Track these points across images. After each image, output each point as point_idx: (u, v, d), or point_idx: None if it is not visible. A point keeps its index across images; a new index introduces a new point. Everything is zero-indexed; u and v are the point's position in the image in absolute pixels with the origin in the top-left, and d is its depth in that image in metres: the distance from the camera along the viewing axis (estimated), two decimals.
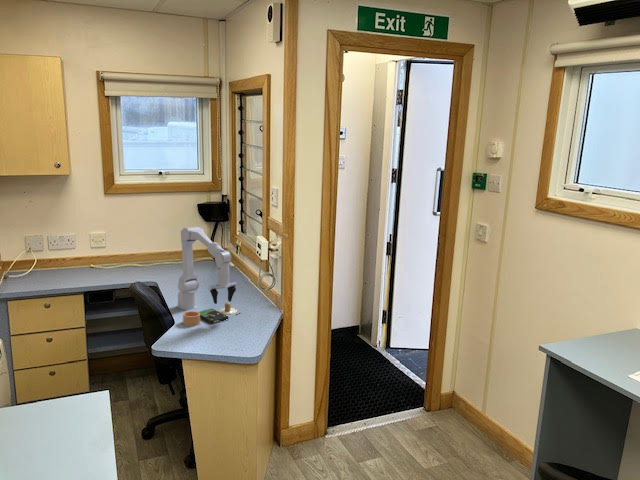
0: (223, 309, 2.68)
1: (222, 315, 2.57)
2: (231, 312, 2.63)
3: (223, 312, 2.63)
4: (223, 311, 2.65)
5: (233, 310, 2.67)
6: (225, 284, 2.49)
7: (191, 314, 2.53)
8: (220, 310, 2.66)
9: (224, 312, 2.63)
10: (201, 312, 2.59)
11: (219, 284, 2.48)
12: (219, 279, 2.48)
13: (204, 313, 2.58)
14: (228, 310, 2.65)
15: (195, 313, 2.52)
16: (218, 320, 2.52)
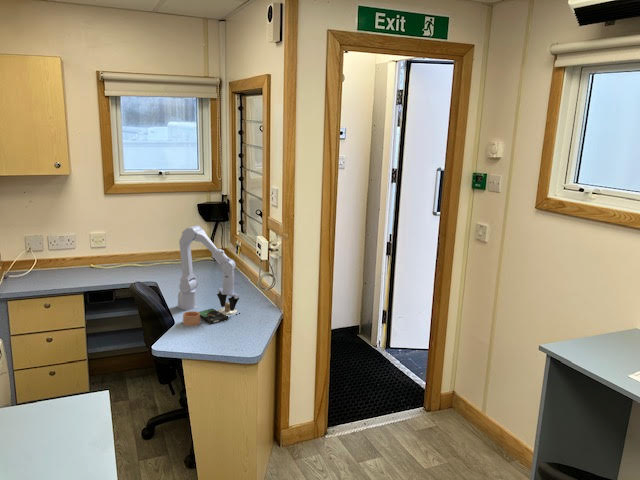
0: (223, 309, 2.68)
1: (222, 315, 2.57)
2: (231, 312, 2.63)
3: (223, 312, 2.63)
4: (223, 311, 2.65)
5: (233, 310, 2.67)
6: (223, 291, 2.62)
7: (191, 314, 2.53)
8: (220, 310, 2.66)
9: (224, 312, 2.63)
10: (201, 312, 2.59)
11: None
12: None
13: (204, 313, 2.58)
14: (228, 310, 2.65)
15: (195, 313, 2.52)
16: (218, 320, 2.52)
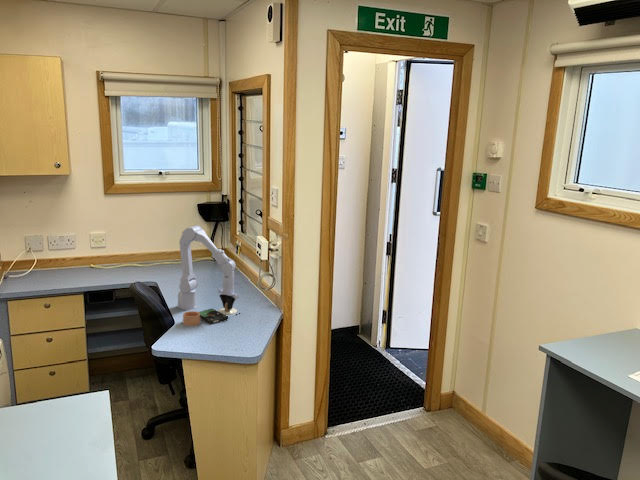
0: (223, 309, 2.68)
1: (222, 315, 2.57)
2: (231, 312, 2.63)
3: (223, 312, 2.63)
4: (223, 311, 2.65)
5: (233, 310, 2.67)
6: (223, 291, 2.62)
7: (191, 314, 2.53)
8: (220, 310, 2.66)
9: (224, 312, 2.63)
10: (201, 312, 2.59)
11: None
12: None
13: (204, 313, 2.58)
14: (228, 310, 2.65)
15: (195, 313, 2.52)
16: (218, 320, 2.52)
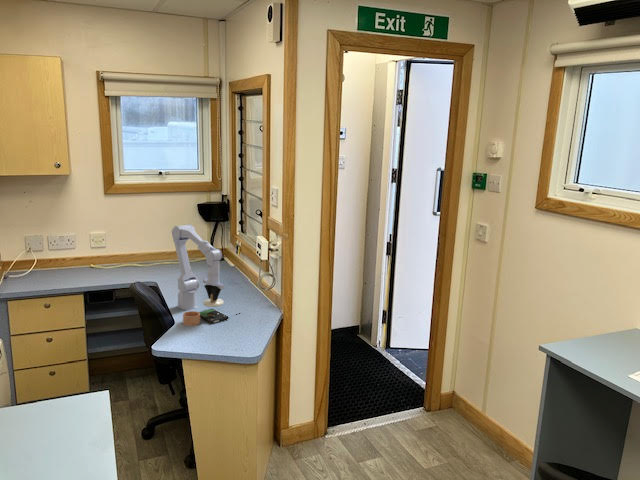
0: (209, 300, 2.60)
1: (222, 315, 2.57)
2: (217, 303, 2.55)
3: (209, 303, 2.55)
4: (209, 302, 2.57)
5: (219, 301, 2.59)
6: (208, 281, 2.53)
7: (191, 314, 2.53)
8: (206, 301, 2.58)
9: (210, 303, 2.55)
10: (201, 312, 2.59)
11: None
12: None
13: (204, 313, 2.58)
14: (214, 301, 2.57)
15: (195, 313, 2.52)
16: (218, 320, 2.52)
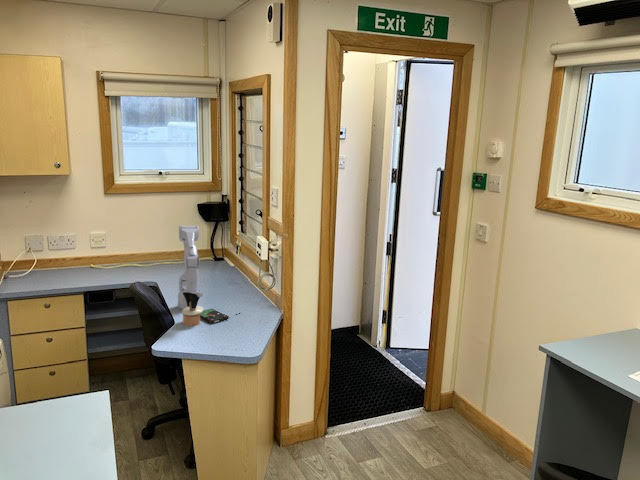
0: (188, 308, 2.51)
1: (222, 315, 2.57)
2: (196, 312, 2.47)
3: (188, 312, 2.47)
4: (188, 310, 2.48)
5: (199, 308, 2.50)
6: (187, 288, 2.44)
7: None
8: (185, 309, 2.49)
9: (189, 312, 2.47)
10: None
11: None
12: None
13: (204, 313, 2.58)
14: (193, 309, 2.48)
15: None
16: (218, 320, 2.52)
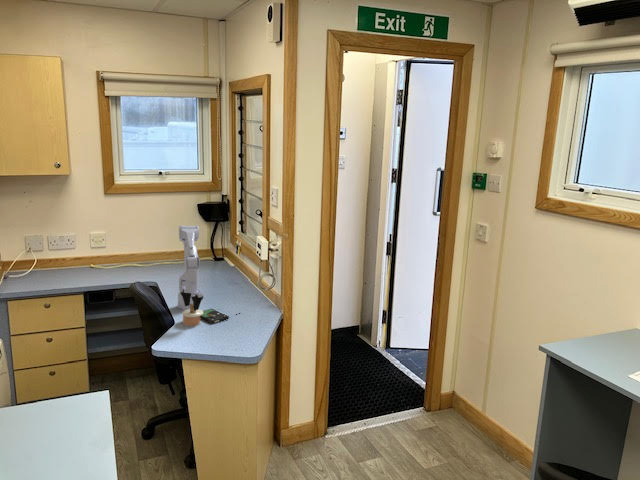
0: (188, 310, 2.51)
1: (222, 315, 2.57)
2: (196, 314, 2.47)
3: (188, 313, 2.47)
4: (188, 312, 2.48)
5: (199, 311, 2.51)
6: (187, 289, 2.45)
7: None
8: (185, 311, 2.50)
9: (189, 313, 2.47)
10: None
11: None
12: None
13: (204, 313, 2.58)
14: (193, 311, 2.48)
15: None
16: (219, 320, 2.52)
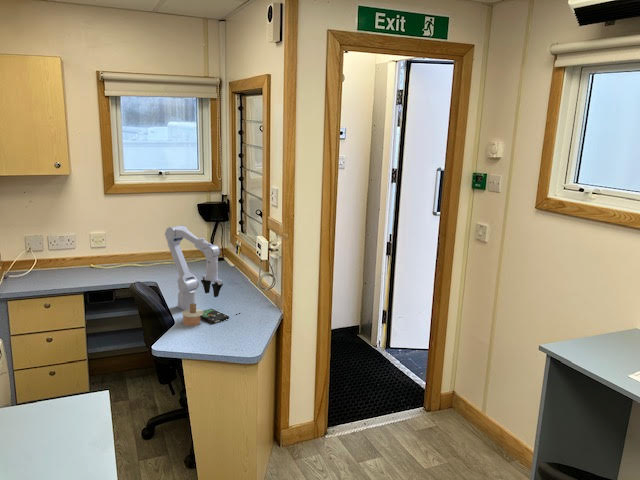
0: (188, 310, 2.51)
1: (222, 315, 2.57)
2: (196, 314, 2.47)
3: (188, 313, 2.47)
4: (188, 312, 2.48)
5: (199, 311, 2.51)
6: (207, 277, 2.57)
7: None
8: (185, 311, 2.50)
9: (189, 313, 2.47)
10: None
11: None
12: None
13: (204, 313, 2.58)
14: (193, 311, 2.48)
15: None
16: (219, 320, 2.52)
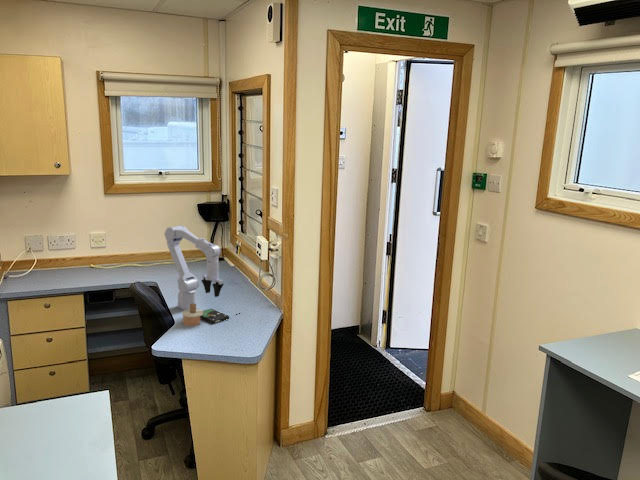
0: (188, 310, 2.51)
1: (223, 315, 2.57)
2: (196, 314, 2.47)
3: (188, 313, 2.47)
4: (188, 312, 2.48)
5: (199, 311, 2.51)
6: (208, 276, 2.58)
7: None
8: (185, 311, 2.50)
9: (189, 313, 2.47)
10: None
11: None
12: None
13: (204, 313, 2.57)
14: (193, 311, 2.48)
15: None
16: (219, 320, 2.52)
